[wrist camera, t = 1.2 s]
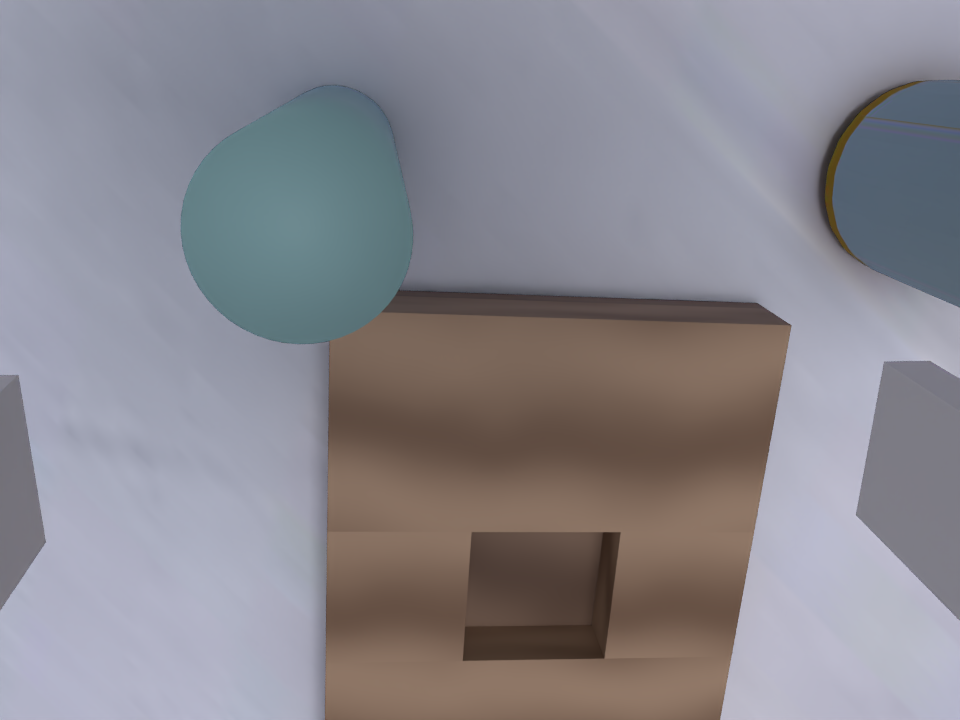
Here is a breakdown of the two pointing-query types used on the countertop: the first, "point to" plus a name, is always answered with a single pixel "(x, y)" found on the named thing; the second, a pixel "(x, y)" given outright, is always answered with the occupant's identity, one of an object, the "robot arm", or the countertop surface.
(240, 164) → the pin
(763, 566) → the countertop surface
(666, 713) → the bore block
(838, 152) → the bottle
